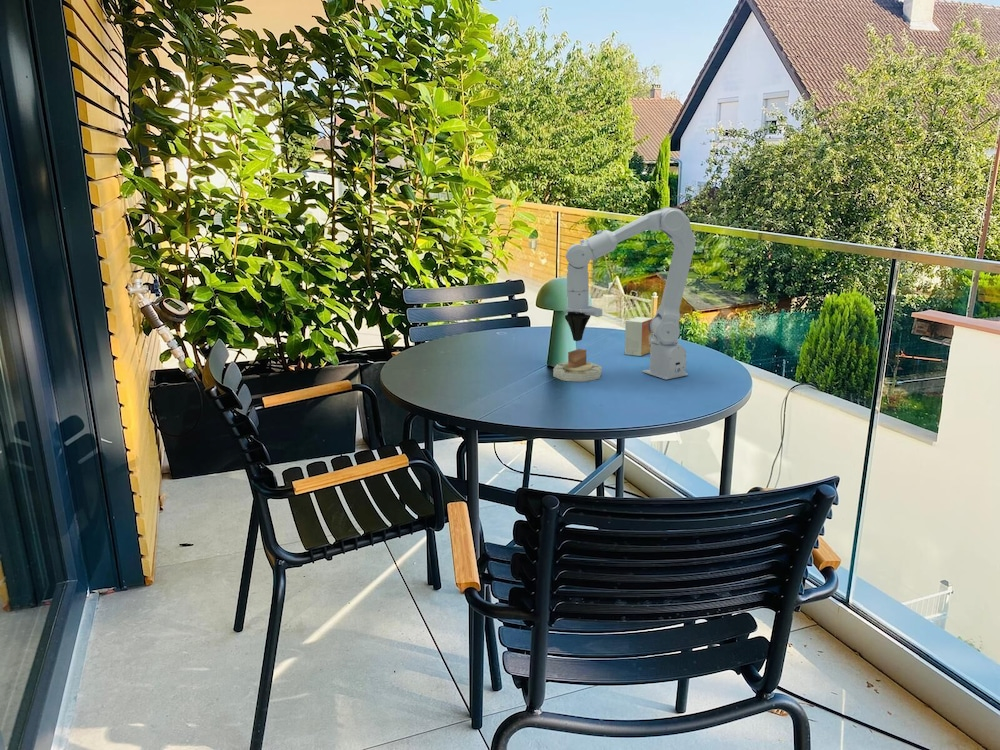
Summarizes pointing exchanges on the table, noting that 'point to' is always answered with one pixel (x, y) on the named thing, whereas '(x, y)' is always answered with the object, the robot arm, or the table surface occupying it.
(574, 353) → the cap
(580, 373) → the flat stone slab
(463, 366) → the table surface
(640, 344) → the small box
